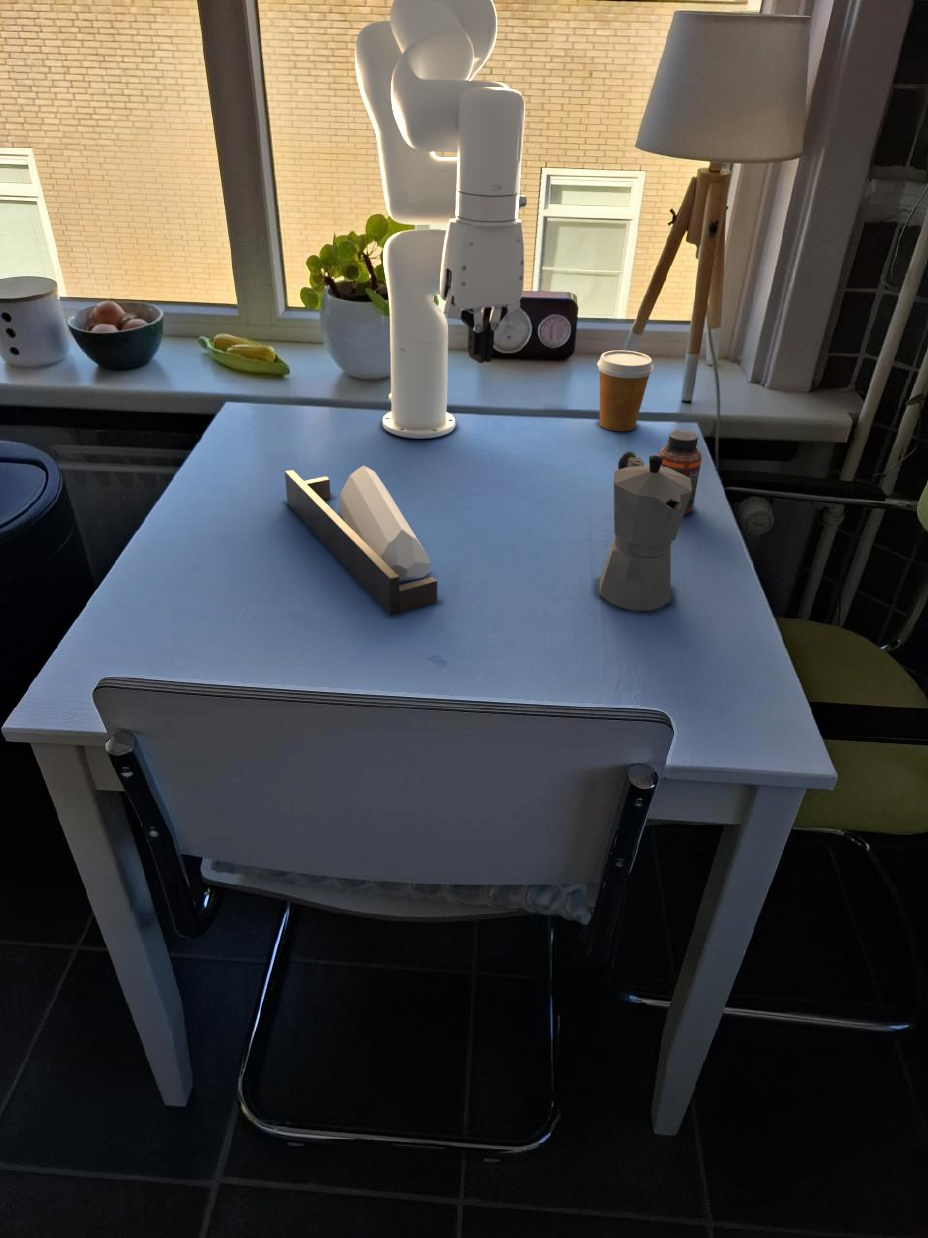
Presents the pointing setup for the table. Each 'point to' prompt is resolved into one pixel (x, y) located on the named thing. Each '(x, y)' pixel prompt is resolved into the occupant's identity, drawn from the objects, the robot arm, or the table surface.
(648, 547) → the coffeepot
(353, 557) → the frame
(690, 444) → the supplement bottle
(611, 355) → the disposable coffee cup
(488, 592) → the table surface
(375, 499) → the crystal
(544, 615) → the table surface
